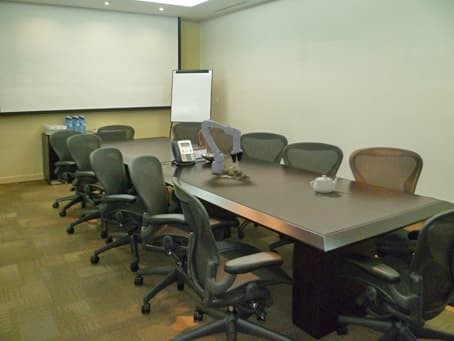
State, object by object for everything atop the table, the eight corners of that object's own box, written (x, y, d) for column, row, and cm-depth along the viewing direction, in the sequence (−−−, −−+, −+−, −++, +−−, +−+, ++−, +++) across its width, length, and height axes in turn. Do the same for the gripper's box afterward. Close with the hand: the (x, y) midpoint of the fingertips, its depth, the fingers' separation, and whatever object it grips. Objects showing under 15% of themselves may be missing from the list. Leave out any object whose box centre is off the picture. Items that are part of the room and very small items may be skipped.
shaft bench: (218, 177, 312) (218, 170, 310) (227, 173, 323) (227, 167, 322) (237, 179, 303) (237, 172, 302) (246, 176, 315) (246, 169, 314)
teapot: (316, 195, 257) (316, 178, 255) (304, 190, 270) (305, 174, 268) (344, 192, 265) (345, 175, 263) (332, 187, 278) (333, 172, 275)
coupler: (228, 175, 312) (228, 167, 311) (231, 174, 316) (231, 166, 314) (233, 175, 310) (233, 168, 309) (236, 174, 313) (236, 167, 312)
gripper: (236, 146, 312) (236, 163, 314) (245, 144, 324) (245, 160, 326) (228, 145, 315) (228, 163, 318) (237, 143, 327) (238, 160, 330)
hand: (236, 161), depth 322 cm, fingers open, 7 cm apart
